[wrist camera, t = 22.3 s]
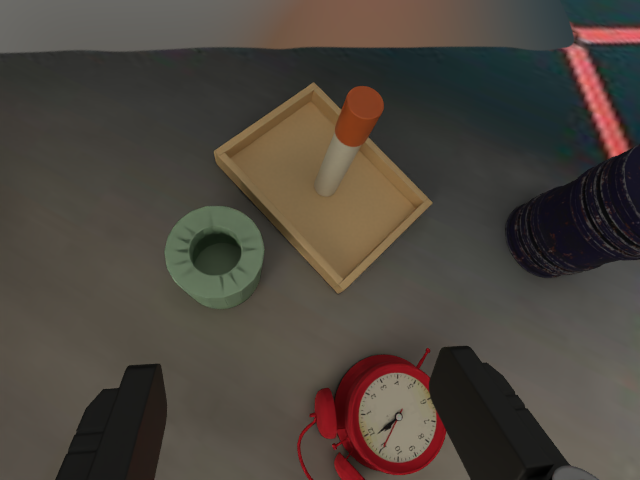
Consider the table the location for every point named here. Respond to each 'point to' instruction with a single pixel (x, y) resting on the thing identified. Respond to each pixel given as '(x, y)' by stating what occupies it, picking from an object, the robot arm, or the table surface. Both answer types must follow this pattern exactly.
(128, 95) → the table surface
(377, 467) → the alarm clock
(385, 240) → the tray
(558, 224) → the dark blue cylinder
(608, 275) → the table surface
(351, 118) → the marker
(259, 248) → the green cylindrical pot
